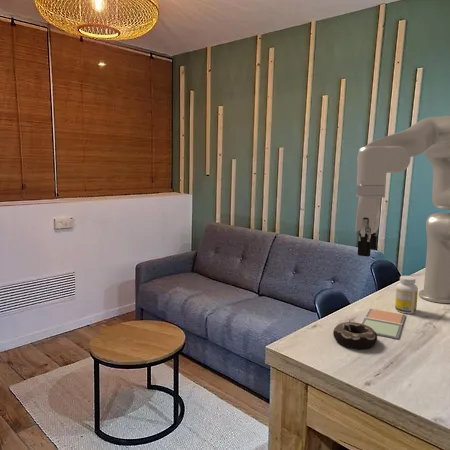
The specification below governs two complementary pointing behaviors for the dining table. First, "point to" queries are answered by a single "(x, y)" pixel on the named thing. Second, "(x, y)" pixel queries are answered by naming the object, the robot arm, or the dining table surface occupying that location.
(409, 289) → the pill bottle
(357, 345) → the donut
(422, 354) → the dining table surface
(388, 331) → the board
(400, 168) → the robot arm
